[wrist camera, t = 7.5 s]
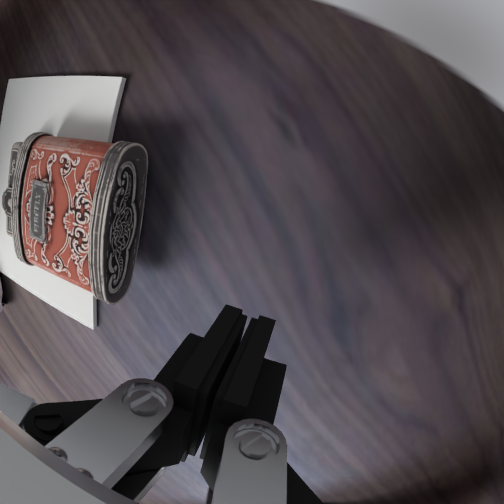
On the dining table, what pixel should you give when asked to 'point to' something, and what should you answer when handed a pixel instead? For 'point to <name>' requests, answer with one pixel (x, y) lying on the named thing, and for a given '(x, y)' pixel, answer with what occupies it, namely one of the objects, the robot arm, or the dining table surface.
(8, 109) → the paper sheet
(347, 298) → the dining table surface
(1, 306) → the cookie jar
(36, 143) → the lighter
